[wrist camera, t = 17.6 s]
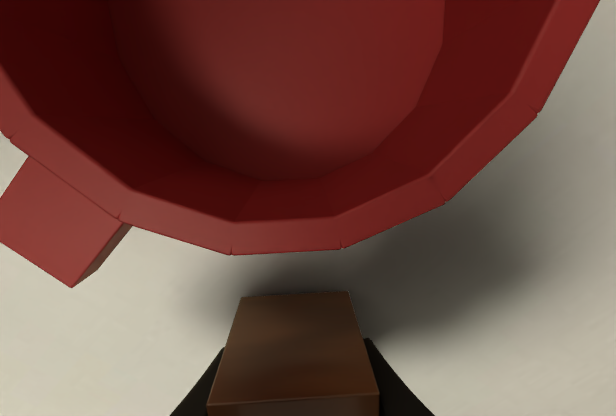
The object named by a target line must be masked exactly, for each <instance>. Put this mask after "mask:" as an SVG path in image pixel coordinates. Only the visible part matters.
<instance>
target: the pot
mask: <svg viewBox="0 0 616 416" xmlns="http://www.w3.org/2000/svg"><path fill="white" fill-rule="evenodd" d="M599 1H600V0H0V131H1V132H2V133H3V135H4V136H5V137H6V138H8V139H10V142H11V143H12V144H13V145H15V146H16V147H17V148H19V149H20V150H22V151H23V152H24V153H26V154H27V155H28V158H27V159H26V161H25V162H24V164H23V165H22V167H21V168H20V170H19V171H18V173H17V174H16V176H15V177H14V178H13V180H12V181H11V183H10V184H9V186H8V187H7V189H6V190H5V192H4V193H3V195H2V196H1V198H0V242H1V243H3V244H4V245H6V246H7V247H9V248H10V249H12V250H13V251H15V252H16V253H18V254H19V255H21V256H23V257H24V258H26V259H27V260H29V261H30V262H32V263H33V264H35V265H36V266H38V267H39V268H41V269H42V270H44V271H45V272H47V273H49V274H50V275H52V276H53V277H55V278H56V279H58V280H59V281H61V282H62V283H64V284H65V285H67V286H68V287H70V288H73V287H74V286H76V285H77V284H79V283H80V282H81V281H83V280H84V279H86V278H87V277H88V276H90V275H91V274H92V273H94V272H95V271H97V270H98V268H99V267H100V266H101V265H102V263H103V262H104V261H105V260H106V258H107V257H108V256H109V255H110V253H111V252H112V251H113V250H114V249H115V247H116V246H117V245H118V244H119V242H120V241H121V240H122V239H123V237H124V236H125V235H126V234H127V232H128V231H129V230H130V229H131V227H132V226H135V227H138V228H141V229H145V230H148V231H151V232H154V233H158V234H161V235H164V236H167V237H171V238H174V239H177V240H180V241H184V242H187V243H190V244H193V245H197V246H200V247H203V248H206V249H209V250H213V251H216V252H219V253H222V254H226V255H231V254H232V255H234V256H235V255H253V254H271V253H288V252H306V251H324V250H339V249H341V247H342V248H347V247H349V246H351V245H354V244H356V243H358V242H360V241H363V240H365V239H367V238H369V237H372V236H374V235H376V234H378V233H381V232H383V231H385V230H387V229H390V228H392V227H394V226H396V225H399V224H401V223H403V222H405V221H408V220H410V219H412V218H414V217H417V216H419V215H421V214H423V213H426V212H428V211H430V210H432V209H435V208H437V207H439V206H441V205H444V204H445V201H446V202H447V201H449V200H450V199H451V198H453V197H454V196H455V195H456V194H457V193H458V192H459V191H460V190H461V189H462V188H463V187H464V186H465V185H466V184H467V183H468V182H469V181H470V180H471V179H472V178H473V177H475V176H476V175H477V174H478V173H479V172H480V171H481V170H482V169H483V168H484V167H485V166H486V165H487V164H488V163H489V162H490V161H491V160H492V159H493V158H494V157H495V156H497V155H498V154H499V153H500V152H501V151H502V150H503V149H504V148H505V147H506V146H507V145H508V144H509V143H510V142H511V141H512V140H513V139H514V138H515V137H516V136H517V135H519V134H520V133H521V132H522V131H523V130H524V129H525V128H526V127H527V126H528V125H529V124H530V123H531V122H532V121H533V120H534V119H535V118H536V117H537V113H539V112H540V111H541V110H542V108H543V106H544V104H545V103H546V101H547V99H548V97H549V95H550V93H551V91H552V89H553V88H554V86H555V84H556V82H557V80H558V78H559V76H560V74H561V73H562V71H563V69H564V67H565V65H566V63H567V61H568V59H569V58H570V56H571V54H572V52H573V50H574V48H575V46H576V44H577V43H578V41H579V39H580V37H581V35H582V33H583V31H584V30H585V28H586V26H587V24H588V22H589V20H590V18H591V16H592V15H593V13H594V11H595V9H596V7H597V5H598V3H599Z"/></svg>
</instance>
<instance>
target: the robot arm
mask: <svg viewBox="0 0 616 416" xmlns="http://www.w3.org/2000/svg"><path fill="white" fill-rule="evenodd" d="M363 341H364V344H365V347H366V350H367V354H368V357H369V360H370V363H371V367H372V370H373V373H374V376H375V380H376V383H377V386H378V390H379V393H380V400H379V416H435V415H434V414H433V413H432V412H431V411H430V410H429V409H428V408H427V407H426V406H425V405H424V404H423V403H422V402H421V401H420V400H419V399H418V398H417V397H416V396H415V395H414V394H413V393H412V392H411V390H410V389H409V388H408V387H407V386H406V385H405V384H404V382H403V381H402V380H401V379H400V378H399V376H398V375H397V374H396V373H395V372H394V370H393V369H392V368H391V367H390V365H389V364H388V363H387V361H386V360H385V359H384V358H383V356H382V355H381V353H380V352H379V351H378V349H377V348H376V346H375V345H374V343H373V342H372V340H370V339H369V338H363ZM224 349H225V347H223V348H222V349H221V351H220V352H219V353H218V355H217V356H216V358H215V359H214V360H213V362H212V363H211V365H210V366H209V367H208V369H207V370H206V371H205V373H204V374H203V375H202V377H201V378H200V379H199V381H198V382H197V383H196V384H195V386H194V387H193V388H192V390H191V391H190V392H189V393H188V395H187V396H186V397H185V398H184V399H183V401H182V402H181V403H180V404H179V405H178V406H177V408H176V409H175V410H174V411H173V412H172V413H171V415H170V416H208V413H207V407H206V404H207V401H208V398H209V395H210V392H211V388H212V385H213V382H214V379H215V376H216V373H217V370H218V367H219V364H220V361H221V358H222V355H223V352H224Z"/></svg>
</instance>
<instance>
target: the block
mask: <svg viewBox="0 0 616 416" xmlns="http://www.w3.org/2000/svg"><path fill="white" fill-rule="evenodd" d="M379 400H380V393H379V390H378V386H377V383H376V380H375V376H374V373H373V370H372V367H371V363H370V360H369V357H368V354H367V350H366V347H365V344H364V341H363V337H362V334H361V331H360V327H359V324H358V321H357V318H356V314H355V311H354V308H353V305H352V301H351V298H350V295H349V292H348V291H336V292H319V293H303V294H286V295H269V296H252V297H241V300H240V303H239V306H238V309H237V312H236V315H235V318H234V321H233V324H232V327H231V330H230V333H229V336H228V339H227V343H226V346H225V349H224V352H223V355H222V358H221V361H220V364H219V367H218V370H217V373H216V376H215V379H214V382H213V385H212V388H211V392H210V395H209V398H208V401H207V404H206V407H207V413H208V416H379Z"/></svg>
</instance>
